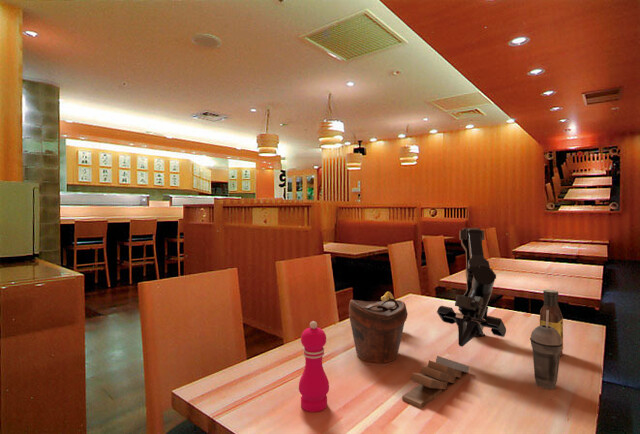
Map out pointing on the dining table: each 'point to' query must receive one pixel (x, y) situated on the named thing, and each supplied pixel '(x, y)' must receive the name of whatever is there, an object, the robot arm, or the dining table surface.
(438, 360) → the domino
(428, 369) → the domino
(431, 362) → the domino
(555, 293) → the sauce bottle
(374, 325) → the brown wooden tapered container
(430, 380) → the domino
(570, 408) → the dining table surface
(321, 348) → the pepper mill
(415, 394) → the domino
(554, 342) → the beverage cup
